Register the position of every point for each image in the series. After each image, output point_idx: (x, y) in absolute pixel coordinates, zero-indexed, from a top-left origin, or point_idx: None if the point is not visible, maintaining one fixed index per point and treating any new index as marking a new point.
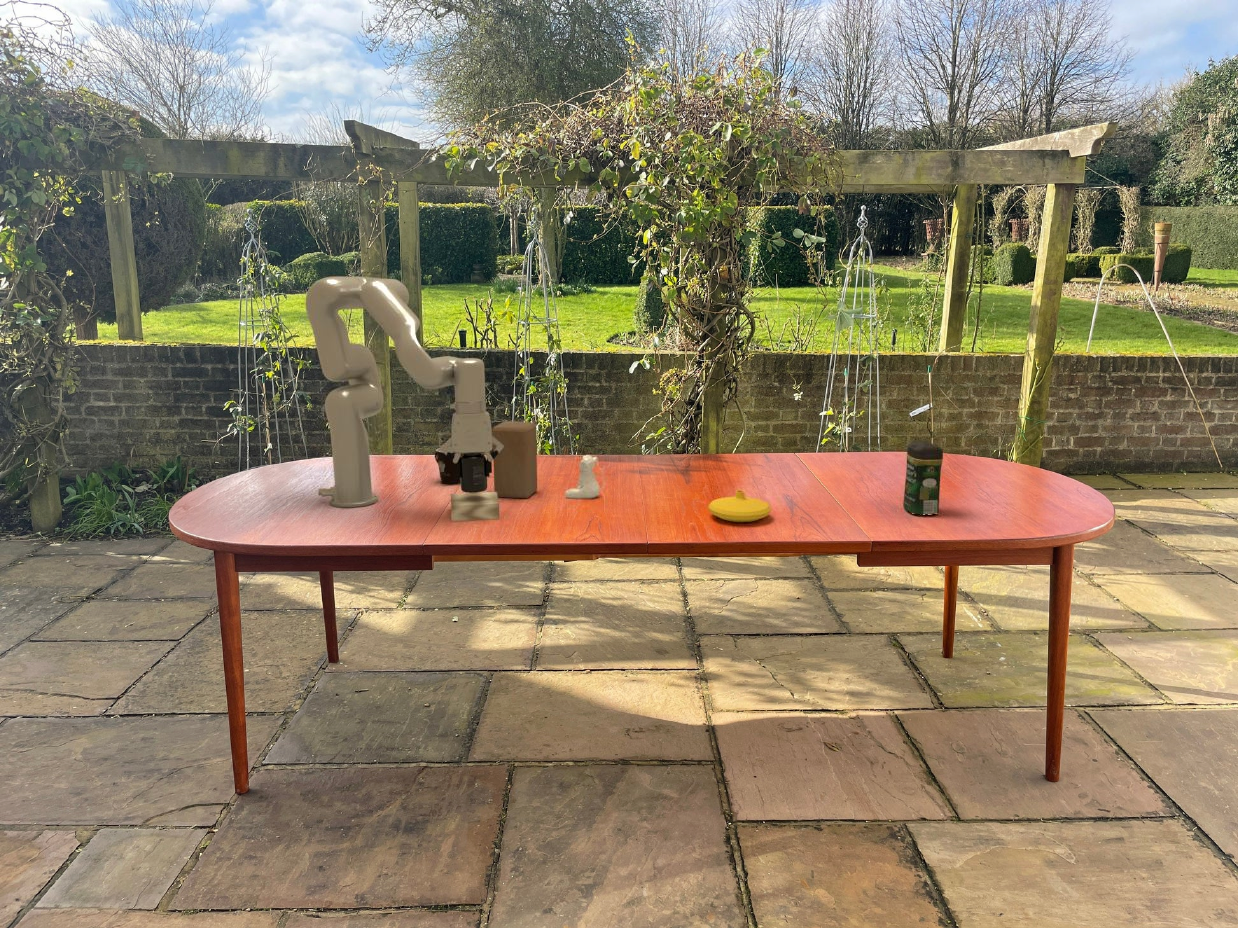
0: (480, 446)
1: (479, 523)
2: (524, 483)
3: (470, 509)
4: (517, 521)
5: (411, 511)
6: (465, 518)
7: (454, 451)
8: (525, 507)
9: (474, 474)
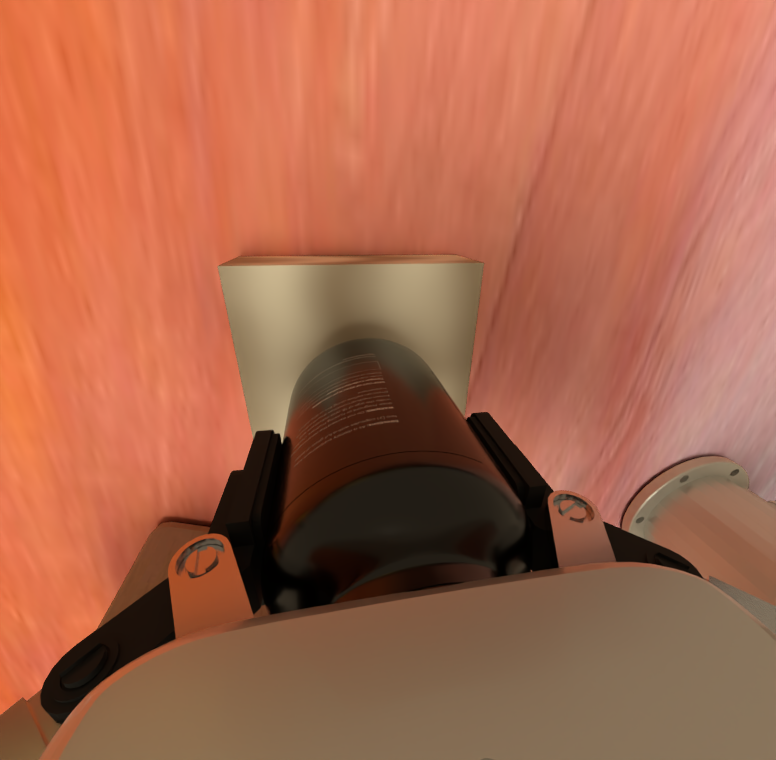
0: (293, 755)
1: (334, 190)
2: (141, 574)
3: (381, 261)
4: (131, 184)
5: (567, 408)
6: (399, 255)
7: (703, 579)
8: (144, 418)
9: (375, 386)
